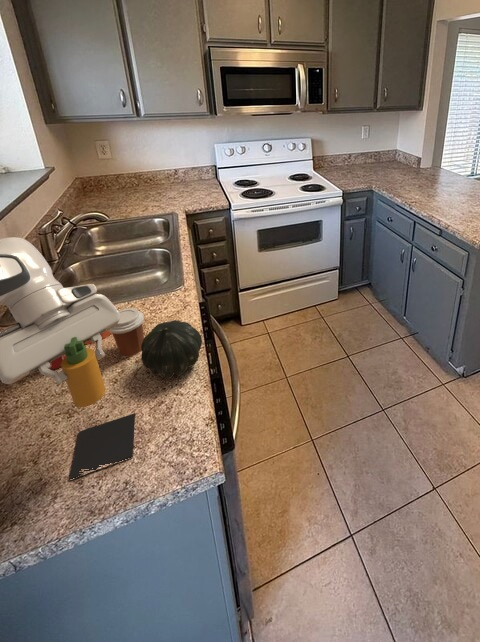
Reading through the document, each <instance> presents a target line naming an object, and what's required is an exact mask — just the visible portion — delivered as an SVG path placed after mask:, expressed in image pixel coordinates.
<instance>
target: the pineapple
mask: <svg viewBox="0 0 480 642" xmlns="http://www.w3.org/2000/svg"><path fill="white" fill-rule="evenodd" d="M64 349H65V355H66V357H65V358H64V359H63V360H62V362H61V367H60V368H61V371H64V372H65V375H67V377H68V379H67V380H66V381H65V382H66V384H67V385H66V386H67V387H68V390H69V394H70V397H71V399H72V401H73V405H74V406H75V407H77V408H86V407H89V406H92V405H93V404H96V403H98V401H100V400H101V399H102V398H103V397H104V395H105V394H106V387H105V383H104V379H103V376H102V373H101V372H102V371H101V369H100V366H99V362H98V361H97V359H96V355H95V350H94V349H92V348H89V347H86V344H83V341H82V340H81V341H78V340H77V337H73V338H72V339H71V342H70V343H69V344H65V346H64Z"/></svg>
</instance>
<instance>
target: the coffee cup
mask: <svg viewBox="0 0 480 642" xmlns="http://www.w3.org/2000/svg"><path fill="white" fill-rule="evenodd" d="M118 312H119V313H120V320H119V322H118V323H117V324H116V325H115V326H114V327H112V328H110V329H108V331H109V332H111V333H112V334H111V335H112V337H113V340H114V342H115V345H116V347H117V349H118V352H119V355H121V357H124V358H129V357H133V356H136V355H138V354H140V353H142V350H141V345H142V342H143V340H144V338H145V334H144V327H143V326H144V325H143V322H144V321H145V315H144V313H143V312H142V311H141V310H138V309H137V308H134V307H127V308H123V309H120V310H118Z"/></svg>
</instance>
